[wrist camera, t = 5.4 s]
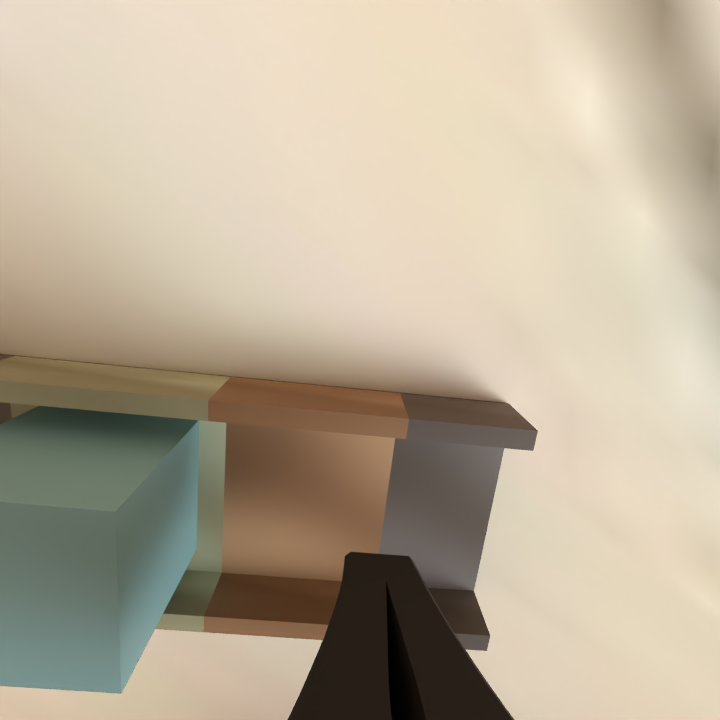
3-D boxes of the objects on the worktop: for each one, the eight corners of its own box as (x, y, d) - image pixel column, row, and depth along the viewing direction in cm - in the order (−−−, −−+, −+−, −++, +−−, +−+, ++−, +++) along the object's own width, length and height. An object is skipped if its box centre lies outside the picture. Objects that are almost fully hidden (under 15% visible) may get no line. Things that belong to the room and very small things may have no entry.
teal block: (196, 549, 12) (120, 693, 8) (52, 537, 12) (-98, 679, 8) (199, 419, 11) (114, 511, 7) (42, 404, 11) (-136, 489, 7)
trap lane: (467, 596, 13) (486, 650, 11) (-53, 558, 12) (-122, 610, 10) (508, 403, 11) (538, 430, 9) (-88, 346, 10) (-175, 364, 9)
